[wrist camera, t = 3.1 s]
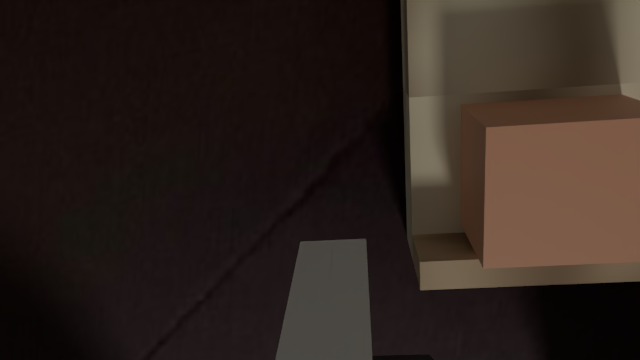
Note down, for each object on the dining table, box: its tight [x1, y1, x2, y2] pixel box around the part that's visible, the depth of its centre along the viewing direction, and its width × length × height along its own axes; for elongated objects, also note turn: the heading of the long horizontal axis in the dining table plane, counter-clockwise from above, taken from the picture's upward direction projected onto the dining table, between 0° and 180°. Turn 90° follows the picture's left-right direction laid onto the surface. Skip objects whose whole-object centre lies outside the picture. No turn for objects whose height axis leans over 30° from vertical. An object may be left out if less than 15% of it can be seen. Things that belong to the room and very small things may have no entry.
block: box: [461, 94, 640, 269], centre depth 20 cm, size 6×5×4 cm
